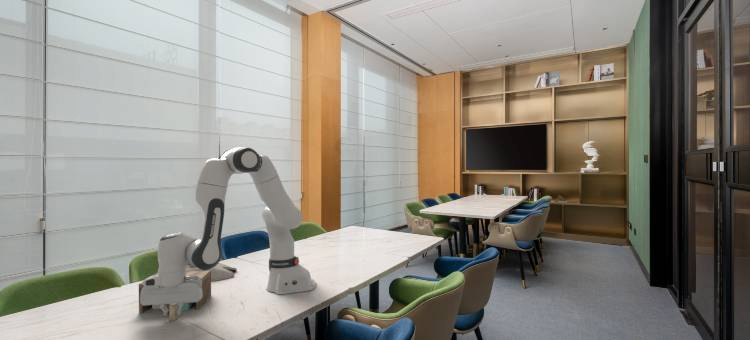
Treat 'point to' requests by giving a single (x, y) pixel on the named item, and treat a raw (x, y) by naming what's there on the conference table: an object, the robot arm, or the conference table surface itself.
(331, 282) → the conference table surface
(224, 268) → the mask
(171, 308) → the tethered block
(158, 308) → the plain block
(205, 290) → the walnut shelf
